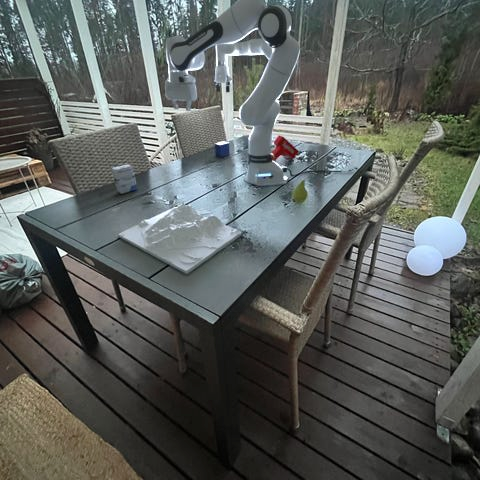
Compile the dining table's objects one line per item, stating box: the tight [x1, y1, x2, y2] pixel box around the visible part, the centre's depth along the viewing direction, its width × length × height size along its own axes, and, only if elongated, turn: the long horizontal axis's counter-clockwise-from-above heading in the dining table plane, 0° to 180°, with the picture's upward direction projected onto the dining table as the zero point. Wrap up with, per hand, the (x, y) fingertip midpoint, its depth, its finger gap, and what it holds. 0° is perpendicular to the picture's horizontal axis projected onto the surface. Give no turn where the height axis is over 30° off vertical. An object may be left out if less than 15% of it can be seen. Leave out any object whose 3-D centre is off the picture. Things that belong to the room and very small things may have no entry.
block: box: [214, 141, 230, 158], centre depth 184 cm, size 5×8×8 cm, turn 139°
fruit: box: [291, 174, 311, 204], centre depth 118 cm, size 7×8×12 cm
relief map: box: [117, 202, 243, 275], centre depth 96 cm, size 27×35×5 cm
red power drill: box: [270, 134, 300, 163], centre depth 174 cm, size 18×4×15 cm
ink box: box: [110, 164, 138, 195], centre depth 131 cm, size 8×5×12 cm, turn 135°
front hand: (182, 109), depth 137 cm, fingers open, 8 cm apart
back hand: (223, 92), depth 198 cm, fingers open, 9 cm apart
